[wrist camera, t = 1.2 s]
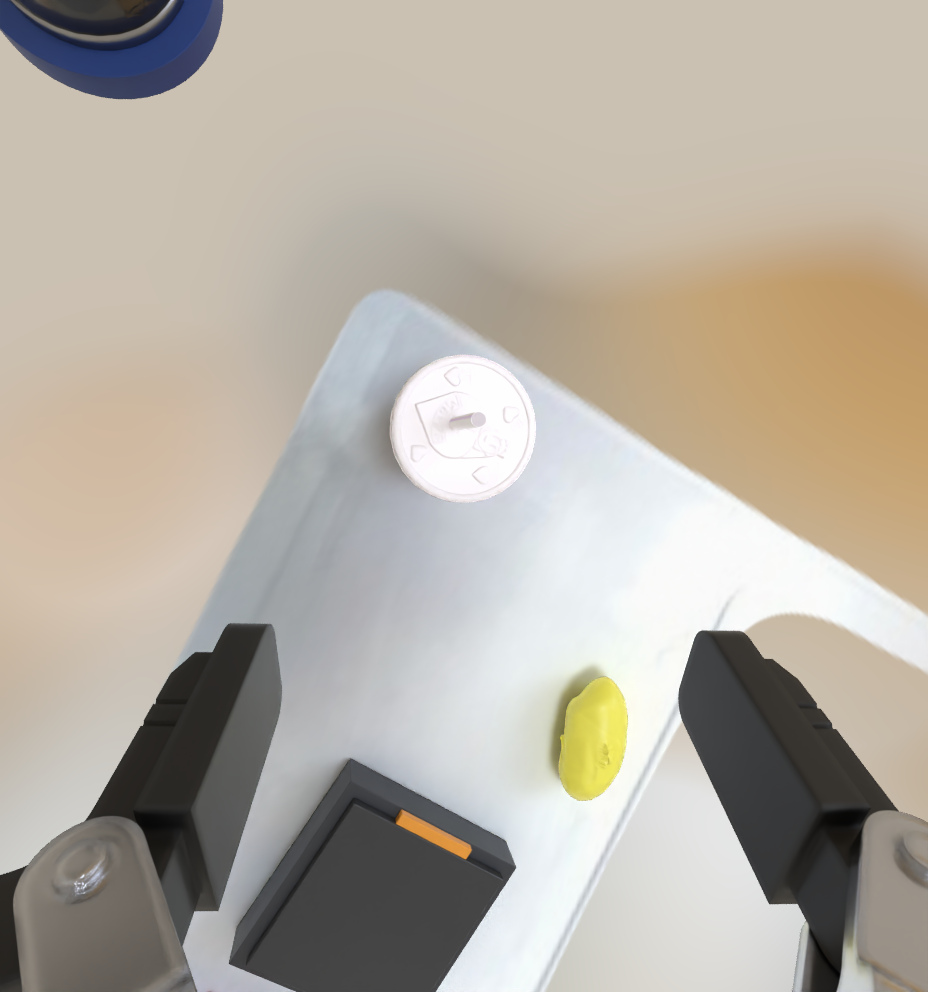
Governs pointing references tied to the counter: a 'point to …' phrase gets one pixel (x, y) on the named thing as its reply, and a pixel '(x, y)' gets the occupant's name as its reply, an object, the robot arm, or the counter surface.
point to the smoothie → (462, 428)
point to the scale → (372, 893)
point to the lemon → (593, 740)
